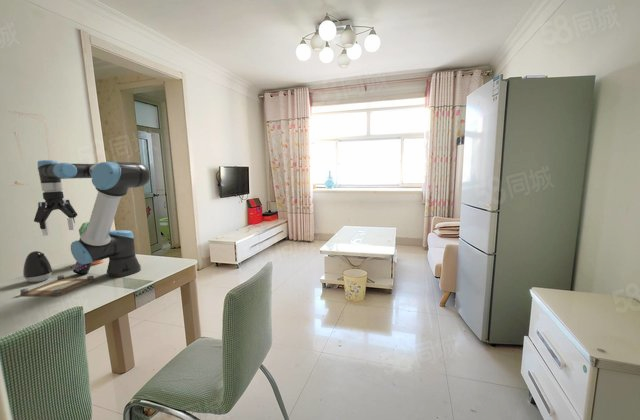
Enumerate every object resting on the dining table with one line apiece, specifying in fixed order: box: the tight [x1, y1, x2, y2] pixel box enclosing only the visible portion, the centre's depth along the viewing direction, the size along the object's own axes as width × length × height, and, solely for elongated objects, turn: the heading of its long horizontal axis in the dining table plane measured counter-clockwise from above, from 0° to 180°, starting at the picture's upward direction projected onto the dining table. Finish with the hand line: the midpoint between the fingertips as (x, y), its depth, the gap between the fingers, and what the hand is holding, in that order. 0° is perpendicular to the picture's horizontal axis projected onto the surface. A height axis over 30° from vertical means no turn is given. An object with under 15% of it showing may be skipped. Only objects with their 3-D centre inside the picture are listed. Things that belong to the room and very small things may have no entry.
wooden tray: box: [19, 274, 95, 297], centre depth 130 cm, size 18×18×2 cm
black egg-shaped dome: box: [22, 250, 53, 283], centre depth 139 cm, size 10×10×15 cm
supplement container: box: [72, 260, 93, 275], centre depth 148 cm, size 7×7×10 cm
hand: (59, 232), depth 143 cm, fingers open, 13 cm apart
